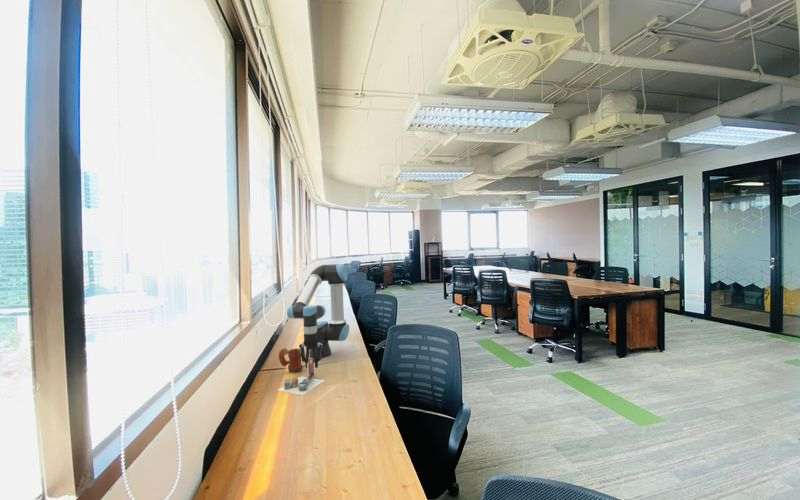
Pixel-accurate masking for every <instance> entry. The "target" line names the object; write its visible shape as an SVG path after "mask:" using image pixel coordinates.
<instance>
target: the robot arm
mask: <svg viewBox="0 0 800 500" xmlns="http://www.w3.org/2000/svg"><path fill="white" fill-rule="evenodd" d="M307 277H308V278H307V279H308V280H307V282H306V284H305V286H304V287H303V288H302V289H303V290H302V291H301V292H300V294H299V297H298V298H297V300H296V302H295V304H294V305H290V306H289V307H288V308H287V310H286V314H287V317H288V318H289V319H301V320H302V319H303V333H304V334H303V342H302V343H299V349H300V351H301V362H304V363H305V365H304V366H305V369H306V370H307V371H306V372H307V373H306V374H307V375H309V359H310V358H311V359H314V363H313V365H314V374H315V375H316V374H317V368H318V367H319V362H320V361H321V360H322V358H326V357H329V356H331V355H332V350H331V346H330V344H329V342H333V341H334V342H343V341H346V340H347V339H348V336H349V333H350V325H349V323H347V320H346V319H345V315H344V312H345V311H344V310H345V309H344V284H345V283H346V281H347V280H348V270H347V268H346V266H345V265H344V264H340V263H338V264H337V263H336V264H321V265H319V266H317V267H315V268H314V269H313V270H312V271H311V272H310V273H309V275H308V276H307ZM322 282H327V285H329V286H330V287H329V288H330V308H331V309H330V311H331V320H330V321H327V320H324V321H318V320H319V319H321V318H322V317H324V316H325V315H326V308H325V306H323V305H321V304H319V305H318V304H317V305H314V304H311V305H310V303H311V301H312V299H313V297H314V295H315V292H316V291H317V289H318V287H319V285H321V284H322ZM305 348H306V349H305Z"/></svg>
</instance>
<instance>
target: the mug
mask: <svg viewBox="0 0 800 500" xmlns="http://www.w3.org/2000/svg"><path fill="white" fill-rule="evenodd" d="M286 355H287V356H288V359H289V360H286V358H285V356H286ZM278 359H279V363H280V364H281V366H282V367H286V366H287V369H288V373H291V374H294V373H299V372H301V371H302V370H303V368H304V367H303V365H302V357H301V349H300V348H296V347H295V348H291V349H290V350H289V349H287V347H284V348H282V349H280V351H279V353H278Z"/></svg>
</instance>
